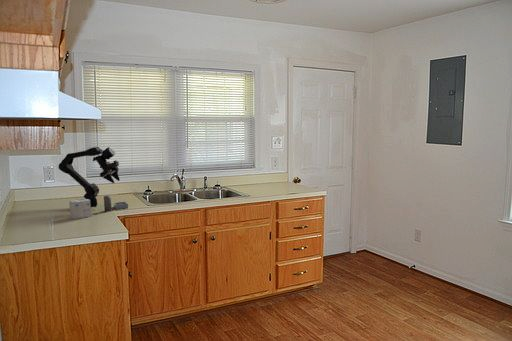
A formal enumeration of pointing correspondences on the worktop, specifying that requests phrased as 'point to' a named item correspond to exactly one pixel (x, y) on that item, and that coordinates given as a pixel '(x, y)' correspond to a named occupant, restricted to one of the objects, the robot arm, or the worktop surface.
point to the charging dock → (120, 205)
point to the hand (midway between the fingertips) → (116, 181)
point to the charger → (107, 203)
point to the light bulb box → (80, 208)
